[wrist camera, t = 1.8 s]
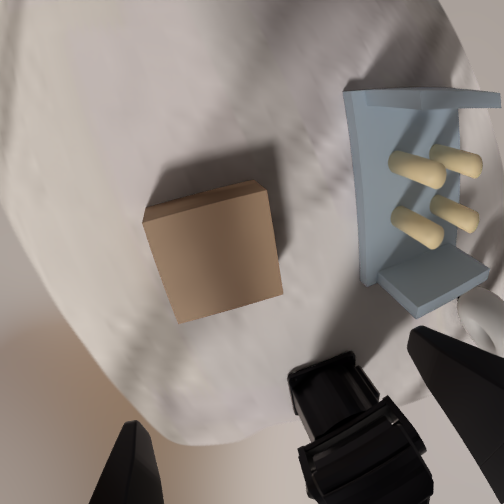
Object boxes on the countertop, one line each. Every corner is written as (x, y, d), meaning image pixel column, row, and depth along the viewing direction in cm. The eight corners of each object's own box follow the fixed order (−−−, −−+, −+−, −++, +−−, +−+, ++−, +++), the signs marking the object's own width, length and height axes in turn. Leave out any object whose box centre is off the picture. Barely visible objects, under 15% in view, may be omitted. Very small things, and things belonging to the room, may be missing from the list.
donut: (443, 287, 27) (511, 345, 18) (464, 264, 27) (534, 315, 18) (457, 332, 32) (508, 381, 23) (475, 313, 32) (527, 359, 23)
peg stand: (360, 280, 24) (404, 325, 18) (342, 91, 17) (404, 91, 12) (448, 245, 25) (494, 275, 20) (446, 87, 19) (506, 93, 13)
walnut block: (176, 297, 21) (178, 323, 18) (146, 206, 18) (142, 222, 15) (268, 271, 22) (283, 294, 19) (252, 178, 19) (266, 190, 16)
